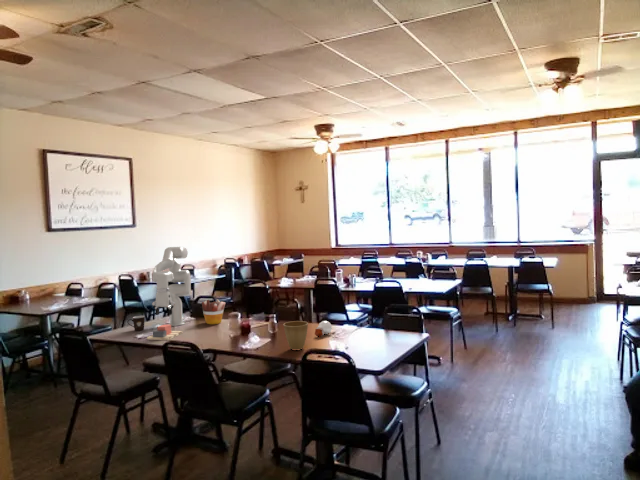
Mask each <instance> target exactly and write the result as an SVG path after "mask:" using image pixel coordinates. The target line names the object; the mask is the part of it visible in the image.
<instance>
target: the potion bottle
mask: <svg viewBox="0 0 640 480" xmlns="http://www.w3.org/2000/svg"><path fill="white" fill-rule="evenodd" d="M332 330H333V326H332V324H331V322H329V321H327V320H322V321H321V322H319V324H318V326H317V327H316V328H315V331H314V335H315V336H316V337H318V336H321V337H323V336H325V335H324V334H327V335H328V333H329V334H330V333H332Z"/></svg>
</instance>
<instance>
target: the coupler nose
mask: <svg viewBox="0 0 640 480" xmlns="http://www.w3.org/2000/svg"><path fill="white" fill-rule="evenodd" d="M152 335H153V337H165V336H167V334H166V330H157V329H155V330H152Z"/></svg>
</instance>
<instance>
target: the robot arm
mask: <svg viewBox="0 0 640 480" xmlns="http://www.w3.org/2000/svg"><path fill="white" fill-rule="evenodd" d="M188 253H189V252H188V248H187V247H184V246H169V247H166V248H165V249H164V252H163V257H162V260H161V261H160V262H158V263H157V264H156V265H155V266H154V268H153V271H152V274H151V275H152V276H151V278H152V282H155V283H156V289H157V290H156V291H157V292H156V294H155V300H154V301H153V302H152V303H151V305H152V307H153V308H154V309H155V315H156V316H158V315H160V308H167V309H168V316H169V322H168V324H167V325H171V327H178V326H183V325H185V324H186V323H185V321H184V320H185V319H186V317H183V302H182V299H181V298H180V297H188V296H190V295H191V293H192V291H191V290H192V287H191V286H192V285H191V282H192V281H191V280H192V277H191V272H190V270H188V269H182V268H181V262H180V261H179V259H186V258H187V257H188ZM167 269H168V270H167ZM165 270H166V271H165ZM169 283H172V284H169Z"/></svg>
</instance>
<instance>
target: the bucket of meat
mask: <svg viewBox="0 0 640 480" xmlns="http://www.w3.org/2000/svg"><path fill="white" fill-rule="evenodd" d="M201 305H202V306H201V309H202V312H203V313H202V314H203V316H204V321H205V323H206V324H207V325H219V324H221V323H222V320H223V317H224V310H225V306H226V302H225V301H220V300H219V299H217V298H216V300H215V301H213V302H210V300H209V299H207V300H204V301H201Z"/></svg>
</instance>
